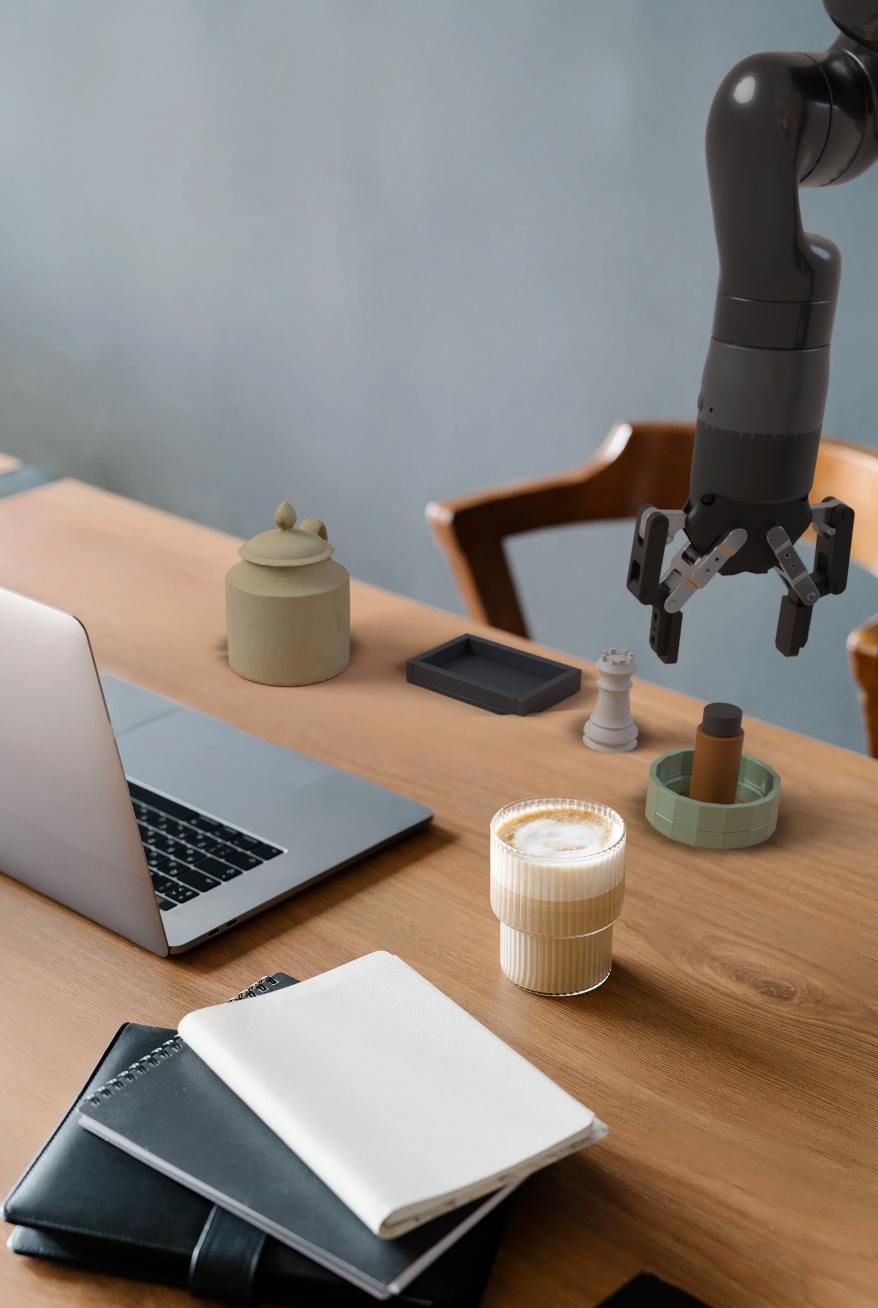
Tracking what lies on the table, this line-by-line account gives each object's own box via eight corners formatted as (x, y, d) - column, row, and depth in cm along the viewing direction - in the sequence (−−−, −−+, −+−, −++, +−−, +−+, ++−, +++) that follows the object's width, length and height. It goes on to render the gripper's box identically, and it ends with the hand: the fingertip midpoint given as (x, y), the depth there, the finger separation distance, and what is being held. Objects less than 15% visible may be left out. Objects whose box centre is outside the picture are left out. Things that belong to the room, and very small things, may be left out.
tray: (580, 690, 121) (582, 669, 120) (522, 722, 115) (523, 701, 114) (465, 652, 128) (466, 632, 127) (405, 681, 122) (406, 660, 121)
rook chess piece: (569, 745, 111) (576, 653, 108) (605, 729, 114) (612, 638, 110) (613, 764, 108) (622, 670, 105) (649, 747, 111) (658, 654, 107)
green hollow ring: (742, 796, 104) (749, 742, 102) (794, 858, 96) (803, 801, 94) (626, 806, 103) (631, 751, 100) (670, 870, 95) (676, 812, 93)
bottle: (721, 811, 101) (736, 698, 97) (738, 833, 98) (755, 718, 94) (679, 815, 100) (692, 701, 96) (695, 837, 97) (710, 721, 93)
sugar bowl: (215, 629, 133) (207, 475, 126) (328, 620, 135) (326, 468, 129) (237, 692, 120) (230, 524, 113) (362, 680, 122) (362, 515, 116)
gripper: (672, 433, 81) (644, 686, 89) (897, 425, 84) (852, 672, 91) (629, 403, 88) (606, 641, 95) (839, 396, 90) (801, 629, 98)
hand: (726, 656), depth 93 cm, fingers open, 8 cm apart
